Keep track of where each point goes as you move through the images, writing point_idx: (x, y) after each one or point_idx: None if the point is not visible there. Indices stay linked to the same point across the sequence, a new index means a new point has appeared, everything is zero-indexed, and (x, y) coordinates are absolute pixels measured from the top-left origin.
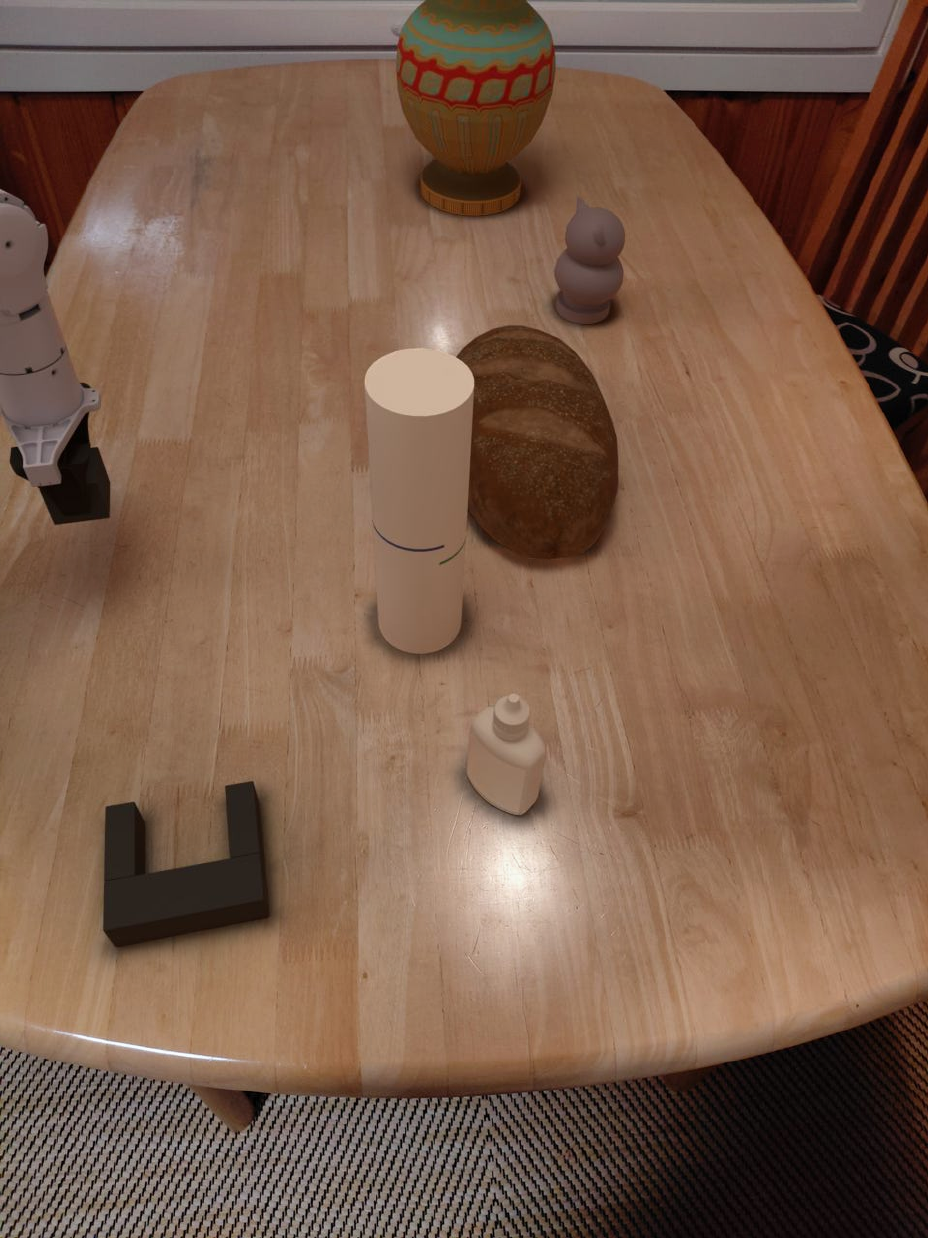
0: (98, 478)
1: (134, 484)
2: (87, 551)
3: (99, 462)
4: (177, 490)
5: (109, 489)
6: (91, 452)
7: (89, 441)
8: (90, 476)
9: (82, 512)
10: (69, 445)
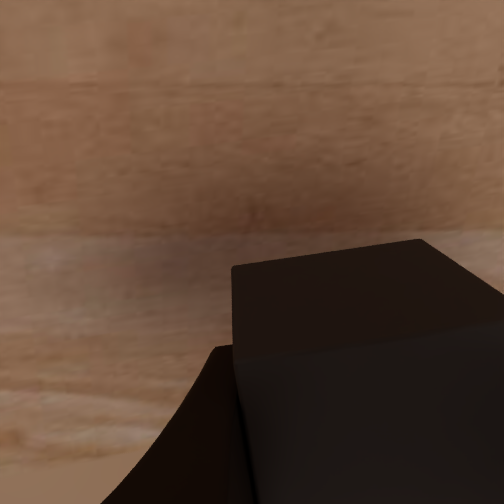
0: (472, 314)
1: (35, 219)
2: None
3: (323, 329)
4: (48, 102)
5: (288, 262)
6: (287, 385)
7: (188, 409)
8: (480, 356)
9: None
10: (246, 498)
